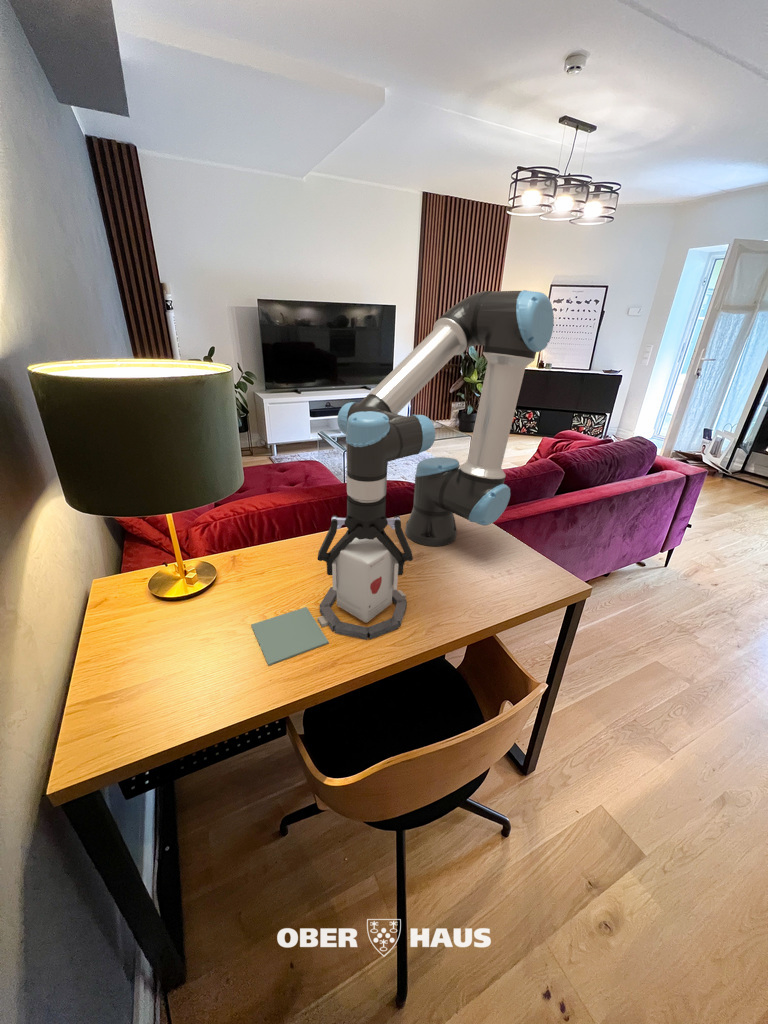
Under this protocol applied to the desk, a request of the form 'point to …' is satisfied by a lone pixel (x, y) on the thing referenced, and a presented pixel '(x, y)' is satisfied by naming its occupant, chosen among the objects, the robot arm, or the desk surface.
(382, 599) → the supplement box
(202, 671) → the desk surface
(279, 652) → the felt pad
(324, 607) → the socket collar
